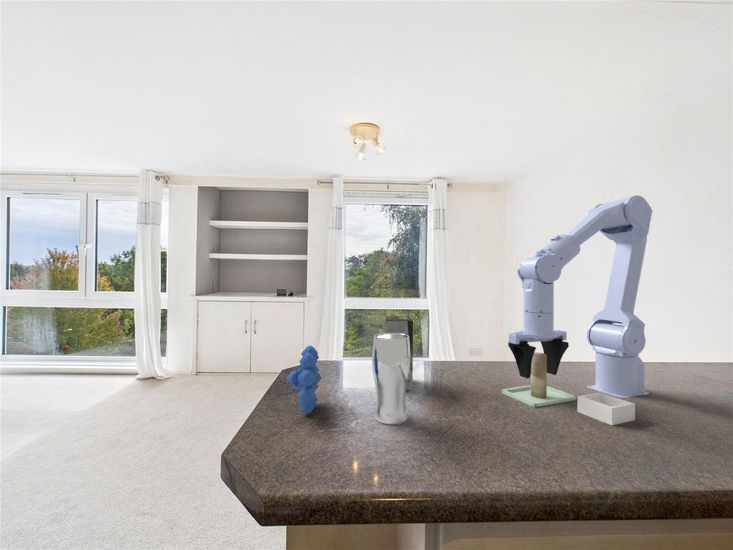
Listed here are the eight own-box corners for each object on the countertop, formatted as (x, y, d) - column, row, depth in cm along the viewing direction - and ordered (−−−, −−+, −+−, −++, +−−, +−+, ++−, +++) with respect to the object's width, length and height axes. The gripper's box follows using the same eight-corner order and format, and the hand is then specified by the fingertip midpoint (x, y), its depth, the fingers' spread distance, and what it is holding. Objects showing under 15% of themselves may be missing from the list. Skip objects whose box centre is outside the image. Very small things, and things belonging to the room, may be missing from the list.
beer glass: (413, 413, 63) (413, 334, 63) (405, 428, 56) (405, 340, 56) (378, 408, 65) (378, 331, 65) (366, 422, 58) (367, 337, 59)
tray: (541, 388, 77) (541, 383, 77) (577, 402, 69) (577, 396, 69) (500, 395, 73) (500, 389, 73) (534, 410, 65) (534, 404, 65)
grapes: (290, 398, 70) (291, 341, 70) (322, 397, 70) (323, 341, 71) (280, 422, 58) (281, 354, 58) (319, 421, 59) (320, 353, 59)
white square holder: (599, 410, 65) (599, 392, 65) (634, 423, 59) (634, 403, 59) (577, 414, 63) (577, 396, 63) (611, 428, 57) (611, 408, 57)
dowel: (537, 392, 73) (537, 352, 73) (549, 397, 70) (549, 354, 70) (527, 394, 72) (527, 353, 72) (539, 399, 69) (539, 356, 69)
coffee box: (413, 390, 75) (413, 320, 76) (385, 390, 76) (385, 319, 76) (409, 378, 85) (409, 315, 85) (384, 378, 85) (385, 315, 85)
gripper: (547, 309, 78) (546, 367, 77) (498, 311, 72) (498, 373, 72) (575, 312, 71) (575, 375, 71) (524, 314, 66) (524, 382, 66)
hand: (538, 375), depth 71 cm, fingers open, 7 cm apart
